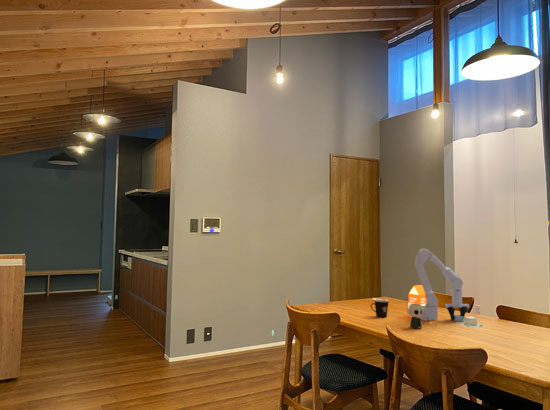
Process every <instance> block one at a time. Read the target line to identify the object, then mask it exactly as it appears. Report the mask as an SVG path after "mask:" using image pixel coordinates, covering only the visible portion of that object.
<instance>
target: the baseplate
mask: <svg viewBox="0 0 550 410" xmlns="http://www.w3.org/2000/svg"><path fill="white" fill-rule="evenodd" d="M454 322H455V323H456V324H458V325H461V326H463V327H466V328H486V327H487V326H485V325H484V324H480V323H477V325H473V326H470V325H466V324H464V321H454Z"/></svg>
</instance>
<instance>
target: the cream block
mask: <svg viewBox="0 0 550 410" xmlns="http://www.w3.org/2000/svg"><path fill="white" fill-rule="evenodd" d="M463 322H464V324H466V325H470V326H473V325H477V324H478V318H476V317H474V316H464V320H463Z"/></svg>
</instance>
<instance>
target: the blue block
mask: <svg viewBox="0 0 550 410" xmlns="http://www.w3.org/2000/svg"><path fill="white" fill-rule="evenodd" d="M450 320H452V319H451V318H450ZM452 321H454V322H464V320H463V316H461V315H460V314H454V320H452Z"/></svg>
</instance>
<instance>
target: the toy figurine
mask: <svg viewBox="0 0 550 410" xmlns="http://www.w3.org/2000/svg"><path fill="white" fill-rule="evenodd" d="M406 313H407V315H408V316H409V315H410V316H412V317H410V316H409V317H410V318H411V319H410V323H409V326H410V327H411V328H413V329H422V328H423V327H422V326H423V325H422V319H420V317H422V315H423V313H424V308H422V305H420V304H409V303H408V308H407V309H406Z"/></svg>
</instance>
